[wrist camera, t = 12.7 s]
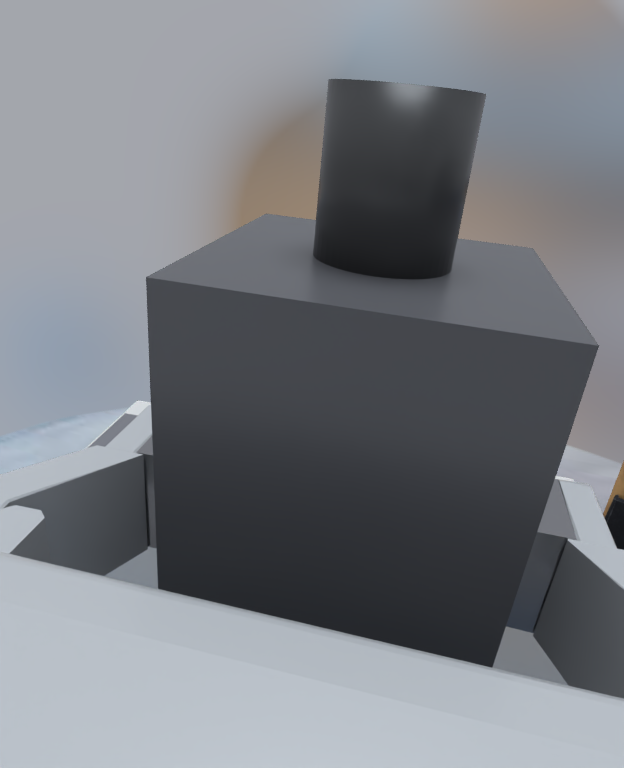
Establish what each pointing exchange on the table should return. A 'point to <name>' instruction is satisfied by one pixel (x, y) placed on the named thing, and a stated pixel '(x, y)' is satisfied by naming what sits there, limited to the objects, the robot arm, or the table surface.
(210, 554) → the plug
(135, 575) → the power strip
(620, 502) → the ammunition clip
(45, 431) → the table surface
